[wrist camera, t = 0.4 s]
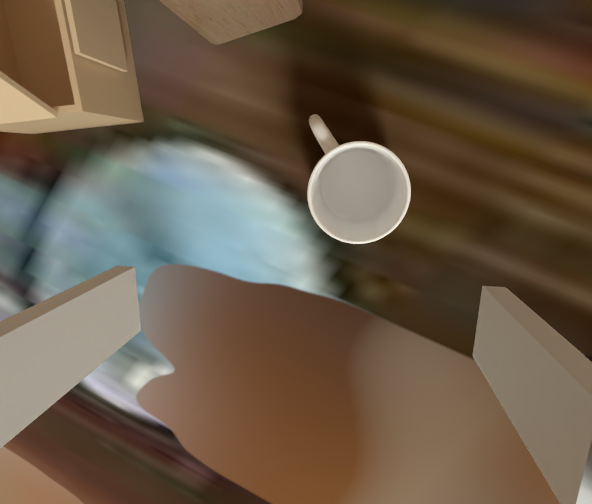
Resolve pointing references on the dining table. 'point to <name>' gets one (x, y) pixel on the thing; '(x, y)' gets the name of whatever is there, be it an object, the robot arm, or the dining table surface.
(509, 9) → the dining table surface
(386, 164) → the cup
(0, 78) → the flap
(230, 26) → the wooden block
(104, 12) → the carton
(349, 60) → the dining table surface
